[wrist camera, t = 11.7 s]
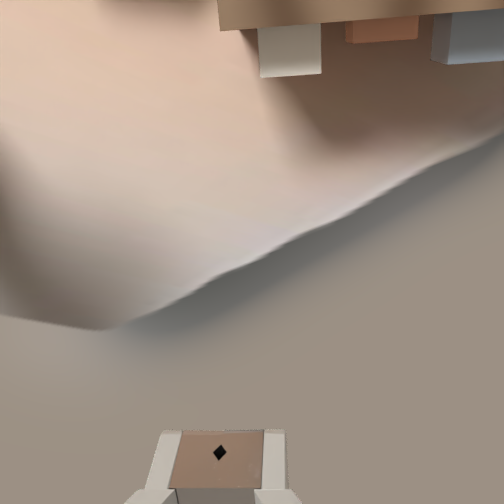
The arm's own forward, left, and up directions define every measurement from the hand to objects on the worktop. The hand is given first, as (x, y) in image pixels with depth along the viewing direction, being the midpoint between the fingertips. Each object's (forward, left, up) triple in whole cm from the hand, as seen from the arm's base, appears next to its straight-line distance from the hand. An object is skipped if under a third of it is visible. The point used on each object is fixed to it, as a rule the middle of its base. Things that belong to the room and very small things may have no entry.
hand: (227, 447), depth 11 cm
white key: (+2, +9, -29) cm, 30 cm away
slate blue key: (+14, +9, -29) cm, 33 cm away
